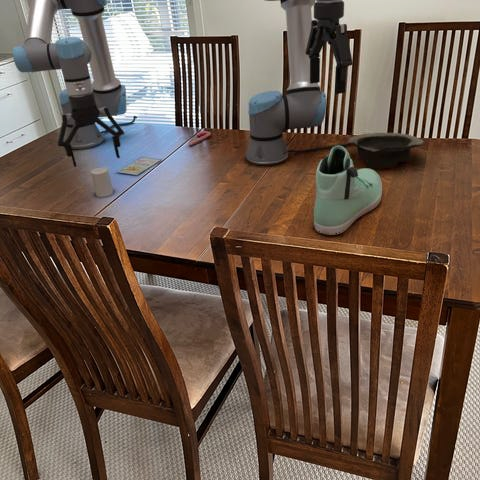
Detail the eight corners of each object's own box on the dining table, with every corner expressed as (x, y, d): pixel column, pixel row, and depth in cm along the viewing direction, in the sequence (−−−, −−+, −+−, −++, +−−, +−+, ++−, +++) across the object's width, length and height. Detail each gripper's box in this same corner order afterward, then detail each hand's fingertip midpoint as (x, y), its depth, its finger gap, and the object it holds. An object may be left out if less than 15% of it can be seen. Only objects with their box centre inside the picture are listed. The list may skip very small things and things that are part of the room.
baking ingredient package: (117, 171, 173) (141, 156, 185) (117, 172, 174) (141, 158, 185) (136, 174, 170) (160, 159, 181) (136, 175, 170) (160, 160, 181)
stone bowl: (381, 179, 153) (381, 151, 149) (333, 161, 173) (332, 136, 169) (438, 160, 162) (440, 133, 157) (386, 145, 182) (386, 120, 178)
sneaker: (389, 187, 148) (396, 123, 138) (356, 242, 123) (361, 168, 112) (346, 181, 154) (350, 119, 144) (306, 232, 129) (307, 161, 118)
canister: (94, 193, 161) (88, 170, 156) (109, 188, 163) (104, 165, 159) (99, 198, 157) (93, 175, 152) (115, 193, 159) (110, 170, 155)
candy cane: (179, 144, 195) (179, 141, 194) (202, 133, 205) (202, 129, 204) (191, 147, 192) (190, 143, 191) (213, 135, 202) (213, 131, 201)
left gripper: (37, 104, 136) (57, 173, 147) (124, 90, 143) (137, 157, 154) (36, 98, 142) (55, 165, 153) (120, 85, 149) (133, 150, 160)
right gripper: (293, -1, 128) (293, 80, 139) (342, 6, 108) (338, 100, 119) (317, -4, 130) (316, 76, 141) (370, 2, 110) (364, 95, 121)
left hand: (96, 161), depth 154 cm, fingers open, 13 cm apart
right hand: (326, 87), depth 130 cm, fingers open, 13 cm apart
